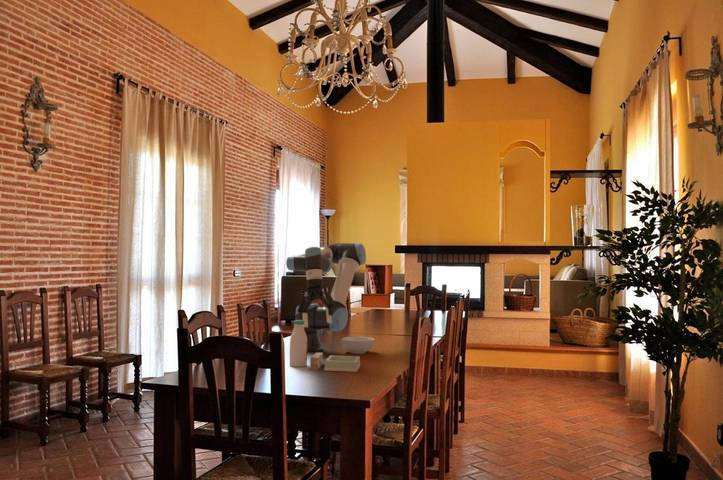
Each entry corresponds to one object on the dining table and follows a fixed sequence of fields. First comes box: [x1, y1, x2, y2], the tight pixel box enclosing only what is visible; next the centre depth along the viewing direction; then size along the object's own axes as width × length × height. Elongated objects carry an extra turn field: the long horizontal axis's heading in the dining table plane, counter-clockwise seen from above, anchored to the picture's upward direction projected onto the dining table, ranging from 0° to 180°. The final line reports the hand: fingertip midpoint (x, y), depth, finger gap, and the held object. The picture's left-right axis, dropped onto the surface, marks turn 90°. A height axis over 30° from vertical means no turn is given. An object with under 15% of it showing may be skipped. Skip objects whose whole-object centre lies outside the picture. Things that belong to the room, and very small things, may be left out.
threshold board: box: [309, 352, 324, 371], centre depth 263 cm, size 14×3×5 cm, turn 174°
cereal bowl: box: [340, 336, 376, 355], centre depth 301 cm, size 17×17×7 cm
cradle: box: [323, 354, 361, 373], centre depth 262 cm, size 14×14×4 cm
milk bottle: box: [289, 319, 308, 368], centre depth 265 cm, size 8×8×20 cm
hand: (317, 325), depth 275 cm, fingers open, 13 cm apart
